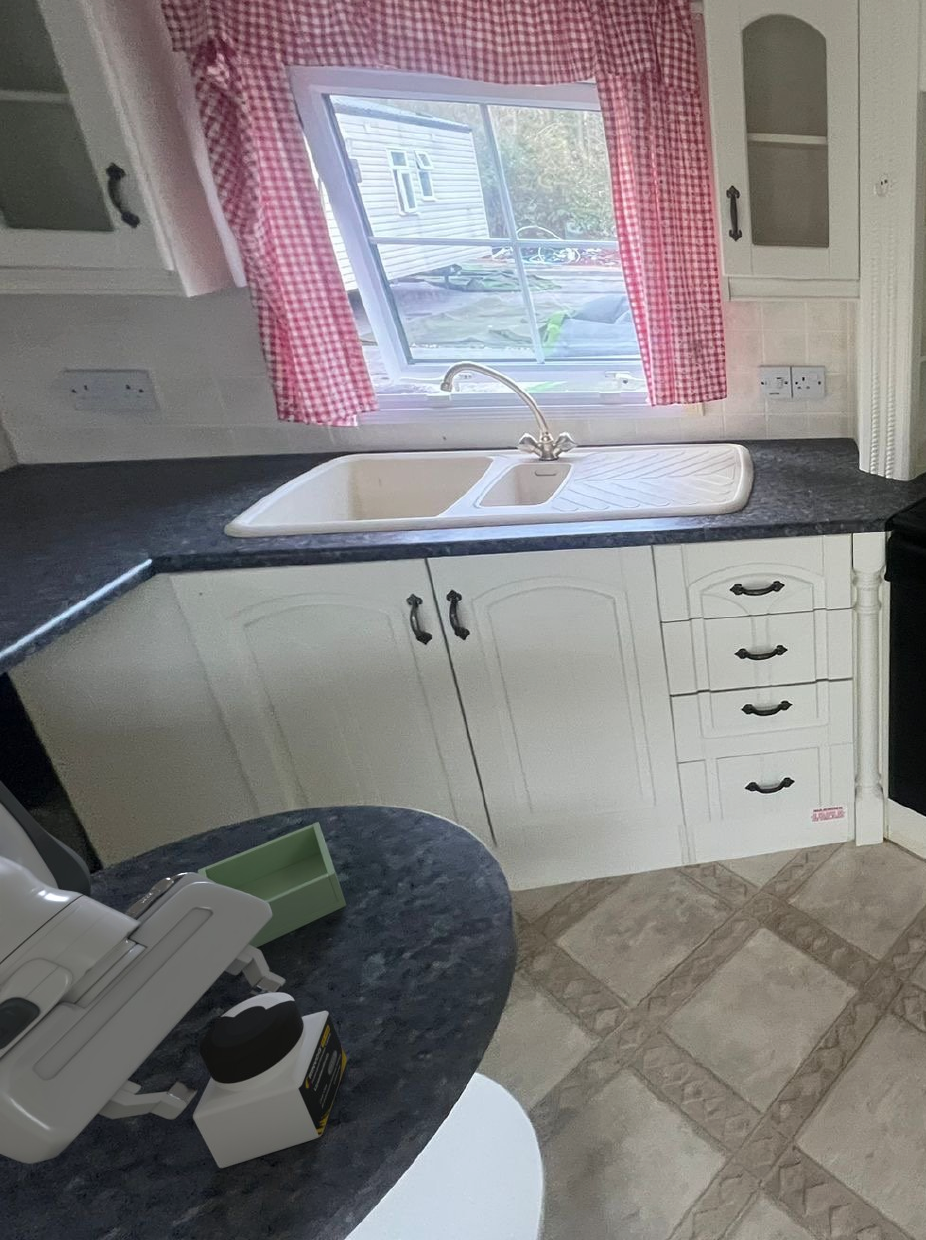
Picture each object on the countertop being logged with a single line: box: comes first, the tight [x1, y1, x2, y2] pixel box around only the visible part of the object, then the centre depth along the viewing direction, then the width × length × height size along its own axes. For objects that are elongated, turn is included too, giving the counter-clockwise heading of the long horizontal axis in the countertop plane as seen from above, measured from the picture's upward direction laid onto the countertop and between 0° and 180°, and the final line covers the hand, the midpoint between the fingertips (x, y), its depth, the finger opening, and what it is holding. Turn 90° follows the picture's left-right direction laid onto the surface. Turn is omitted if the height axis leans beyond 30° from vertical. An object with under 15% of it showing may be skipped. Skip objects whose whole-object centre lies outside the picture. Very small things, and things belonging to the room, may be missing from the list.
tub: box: [197, 821, 347, 949], centre depth 87 cm, size 11×11×5 cm
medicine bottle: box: [192, 991, 348, 1169], centre depth 67 cm, size 7×7×12 cm
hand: (234, 1045), depth 65 cm, fingers open, 8 cm apart
